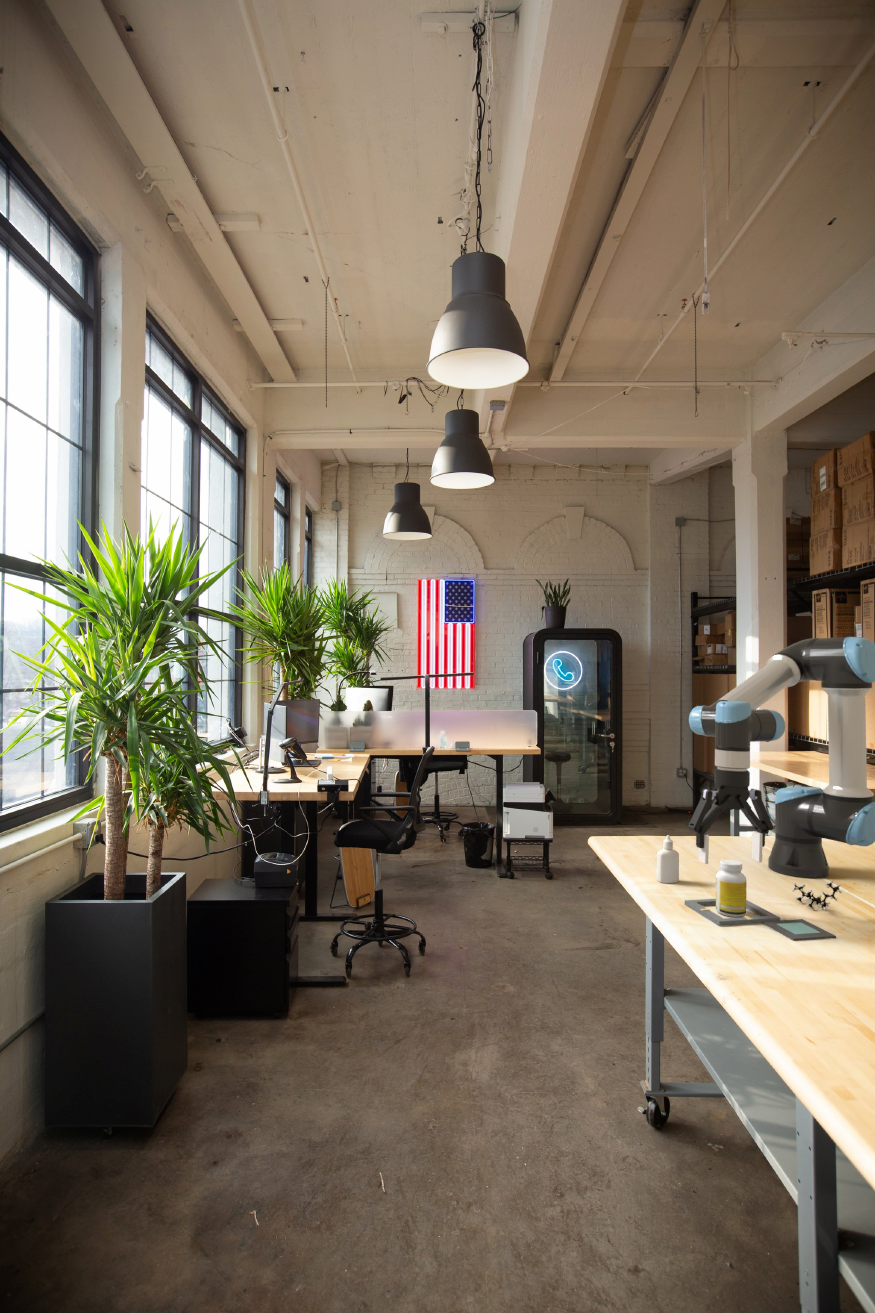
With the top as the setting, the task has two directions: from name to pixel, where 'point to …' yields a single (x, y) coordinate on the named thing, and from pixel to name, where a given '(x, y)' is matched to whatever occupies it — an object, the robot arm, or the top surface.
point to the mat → (798, 929)
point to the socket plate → (763, 916)
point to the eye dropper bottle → (667, 863)
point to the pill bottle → (731, 889)
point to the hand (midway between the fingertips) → (730, 861)
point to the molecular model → (818, 899)
